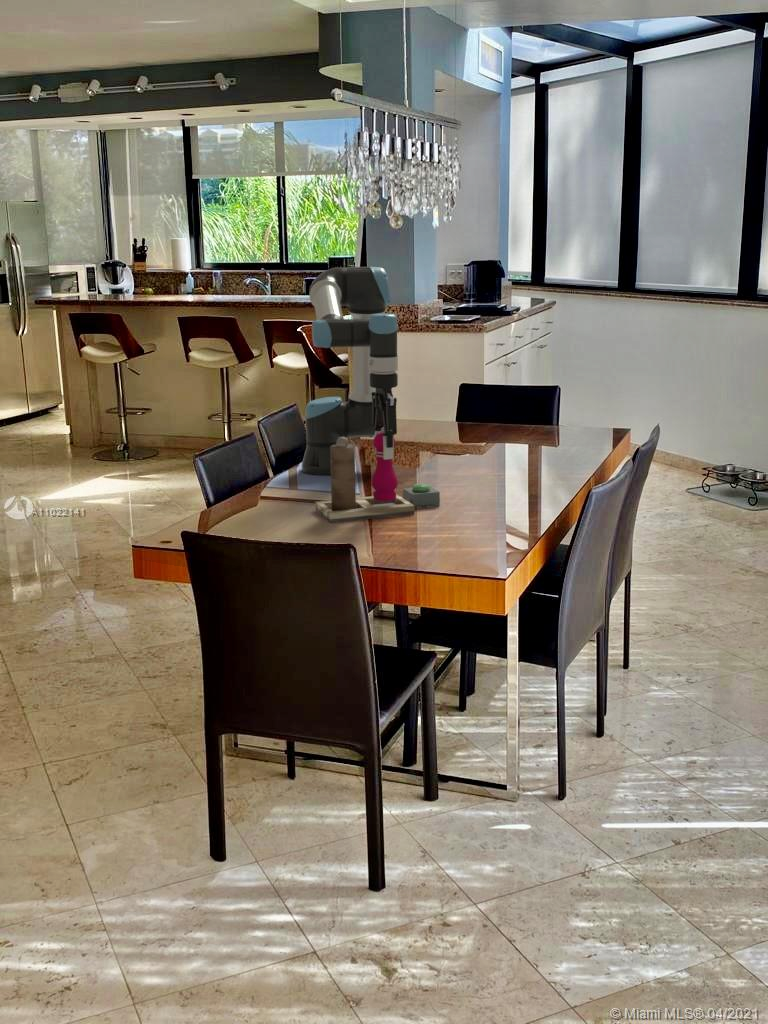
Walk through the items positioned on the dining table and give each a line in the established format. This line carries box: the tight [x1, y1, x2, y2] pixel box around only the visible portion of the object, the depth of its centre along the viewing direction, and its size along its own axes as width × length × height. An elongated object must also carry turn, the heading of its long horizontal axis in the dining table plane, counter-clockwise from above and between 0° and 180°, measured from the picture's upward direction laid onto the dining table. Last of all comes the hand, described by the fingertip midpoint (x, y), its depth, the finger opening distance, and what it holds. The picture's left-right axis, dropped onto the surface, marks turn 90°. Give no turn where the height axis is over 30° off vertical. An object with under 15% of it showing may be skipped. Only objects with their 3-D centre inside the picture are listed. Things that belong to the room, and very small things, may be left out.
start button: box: [412, 483, 431, 492], centre depth 301 cm, size 5×5×4 cm
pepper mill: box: [371, 427, 399, 501], centre depth 292 cm, size 7×7×20 cm
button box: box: [402, 486, 441, 509], centre depth 301 cm, size 8×8×4 cm
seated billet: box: [330, 437, 357, 511], centre depth 289 cm, size 7×7×21 cm
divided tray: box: [315, 493, 415, 524], centre depth 293 cm, size 14×24×2 cm, turn 110°
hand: (384, 456), depth 291 cm, fingers closed on pepper mill, 6 cm apart
